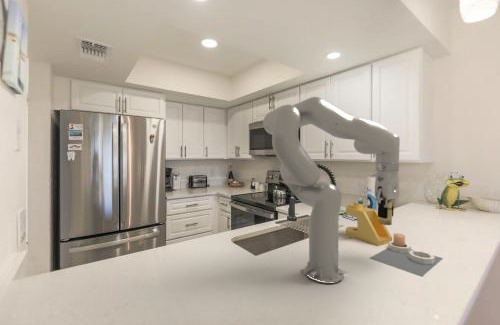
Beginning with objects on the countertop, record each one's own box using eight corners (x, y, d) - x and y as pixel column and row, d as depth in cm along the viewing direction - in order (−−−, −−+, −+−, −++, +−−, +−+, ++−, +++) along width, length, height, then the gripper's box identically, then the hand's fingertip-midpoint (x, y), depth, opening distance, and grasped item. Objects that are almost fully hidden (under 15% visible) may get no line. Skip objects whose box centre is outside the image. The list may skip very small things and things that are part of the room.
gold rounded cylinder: (388, 225, 84) (389, 196, 83) (377, 223, 87) (378, 195, 87) (393, 224, 86) (394, 195, 86) (382, 221, 89) (382, 194, 89)
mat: (421, 280, 75) (422, 276, 75) (368, 261, 88) (369, 258, 88) (443, 261, 88) (443, 258, 88) (394, 247, 101) (394, 244, 101)
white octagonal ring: (429, 266, 81) (430, 260, 81) (406, 258, 87) (406, 253, 87) (436, 260, 86) (436, 255, 86) (413, 253, 92) (413, 248, 92)
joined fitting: (405, 254, 91) (405, 239, 91) (385, 248, 97) (385, 234, 97) (412, 250, 95) (413, 235, 95) (393, 244, 101) (393, 231, 101)
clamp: (341, 235, 118) (341, 203, 117) (354, 232, 122) (354, 202, 121) (378, 249, 100) (378, 212, 99) (392, 245, 104) (392, 209, 103)
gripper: (387, 168, 78) (385, 222, 78) (407, 168, 88) (406, 215, 88) (365, 167, 84) (364, 217, 84) (386, 167, 94) (385, 211, 94)
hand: (385, 216), depth 86 cm, fingers closed on gold rounded cylinder, 4 cm apart
